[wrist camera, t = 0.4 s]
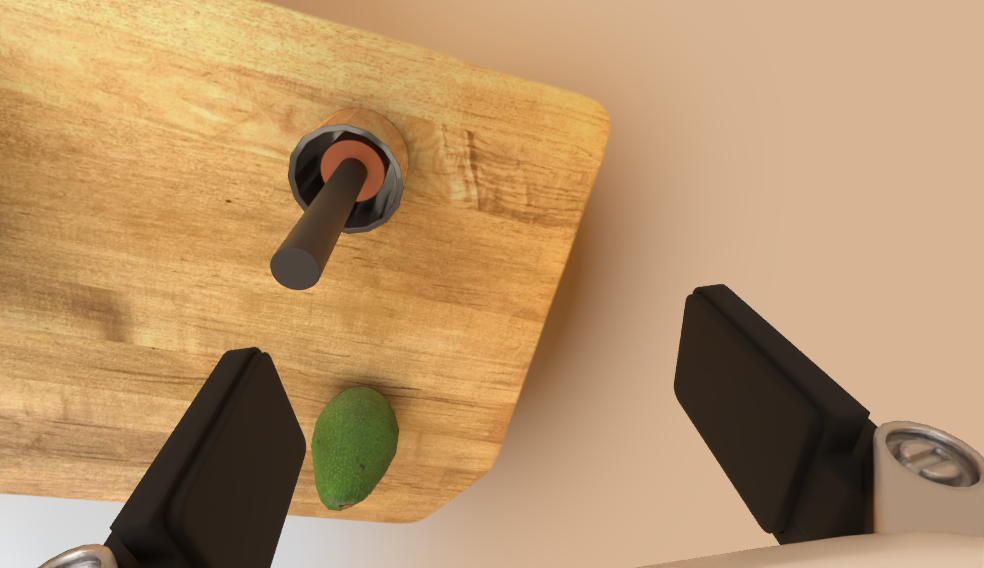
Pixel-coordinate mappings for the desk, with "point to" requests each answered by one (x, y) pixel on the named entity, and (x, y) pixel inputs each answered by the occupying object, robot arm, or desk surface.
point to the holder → (316, 142)
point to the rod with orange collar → (330, 209)
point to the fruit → (353, 446)
